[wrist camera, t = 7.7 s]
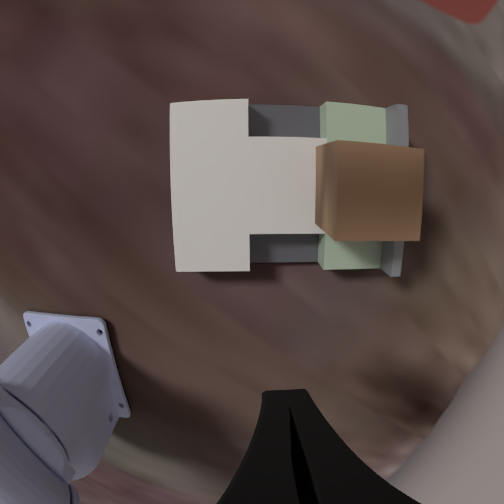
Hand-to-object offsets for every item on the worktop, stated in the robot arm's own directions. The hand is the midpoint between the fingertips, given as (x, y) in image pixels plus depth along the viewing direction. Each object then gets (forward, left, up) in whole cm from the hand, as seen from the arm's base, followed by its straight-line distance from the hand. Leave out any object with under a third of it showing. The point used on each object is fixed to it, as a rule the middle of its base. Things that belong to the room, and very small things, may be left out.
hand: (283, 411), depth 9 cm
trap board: (+6, -1, -10) cm, 12 cm away
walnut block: (+6, -4, -8) cm, 11 cm away
